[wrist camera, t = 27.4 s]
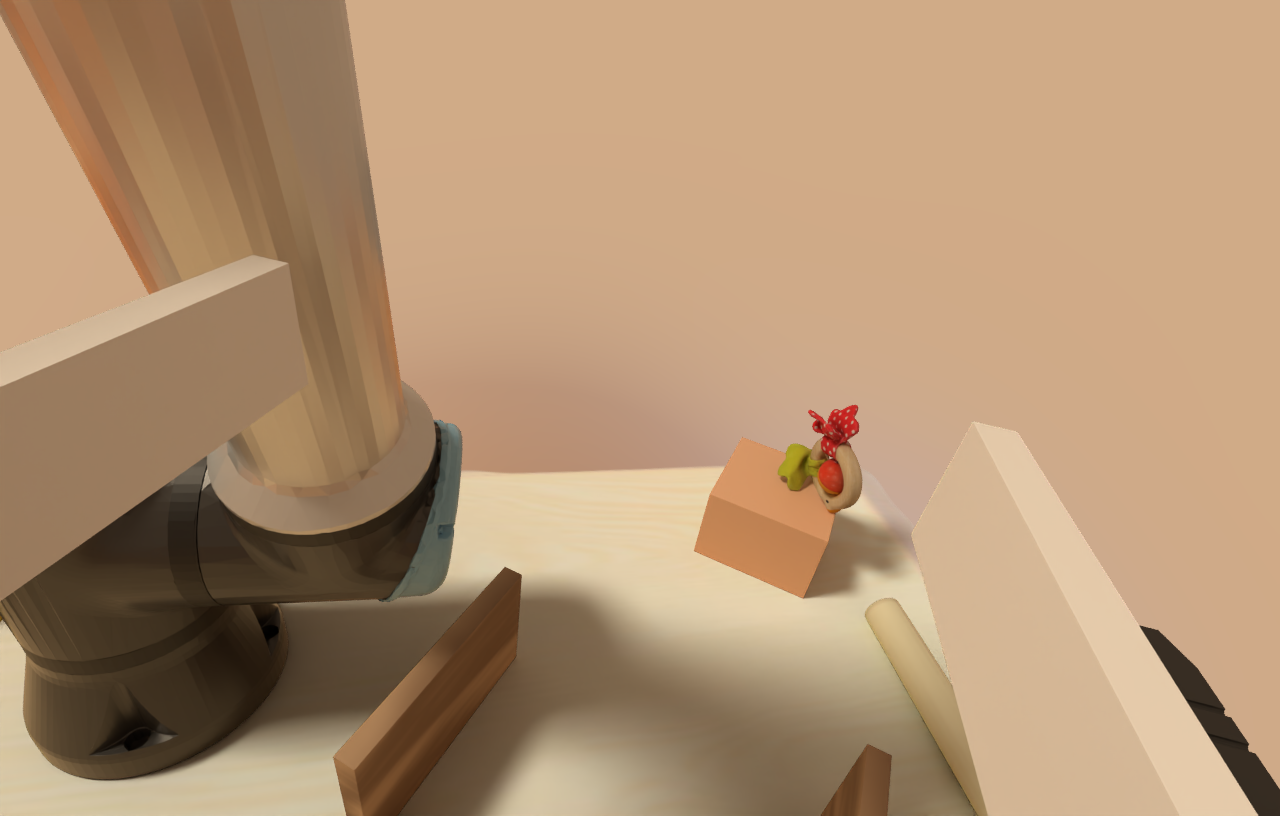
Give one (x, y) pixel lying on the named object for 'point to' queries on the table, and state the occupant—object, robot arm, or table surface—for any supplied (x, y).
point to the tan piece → (927, 691)
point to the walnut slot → (456, 686)
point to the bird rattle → (828, 461)
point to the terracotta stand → (765, 521)
